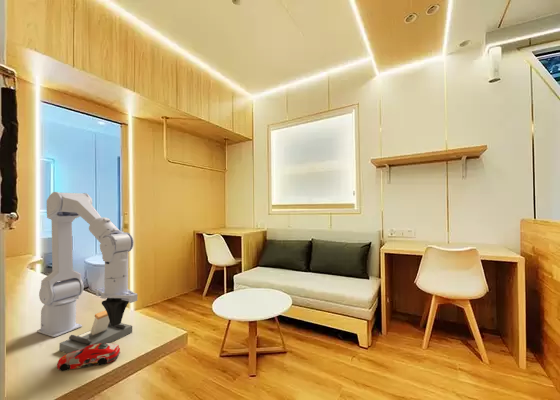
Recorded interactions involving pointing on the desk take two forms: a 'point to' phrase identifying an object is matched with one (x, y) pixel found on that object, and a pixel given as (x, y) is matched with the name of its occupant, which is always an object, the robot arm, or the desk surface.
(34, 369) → the desk surface
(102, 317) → the lever
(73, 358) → the race car
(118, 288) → the robot arm
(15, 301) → the desk surface
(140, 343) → the desk surface
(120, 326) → the strip
